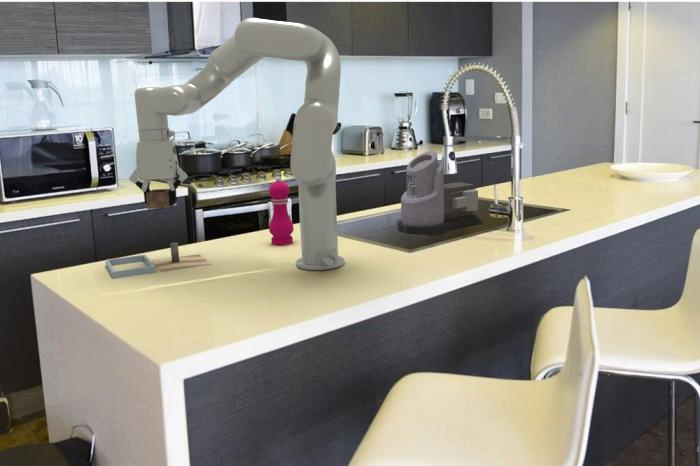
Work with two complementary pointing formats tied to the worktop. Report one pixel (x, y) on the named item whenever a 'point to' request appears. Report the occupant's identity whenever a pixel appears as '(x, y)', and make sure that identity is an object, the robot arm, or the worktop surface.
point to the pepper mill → (280, 214)
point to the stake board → (179, 260)
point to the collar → (158, 199)
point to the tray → (130, 271)
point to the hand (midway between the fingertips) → (161, 204)
